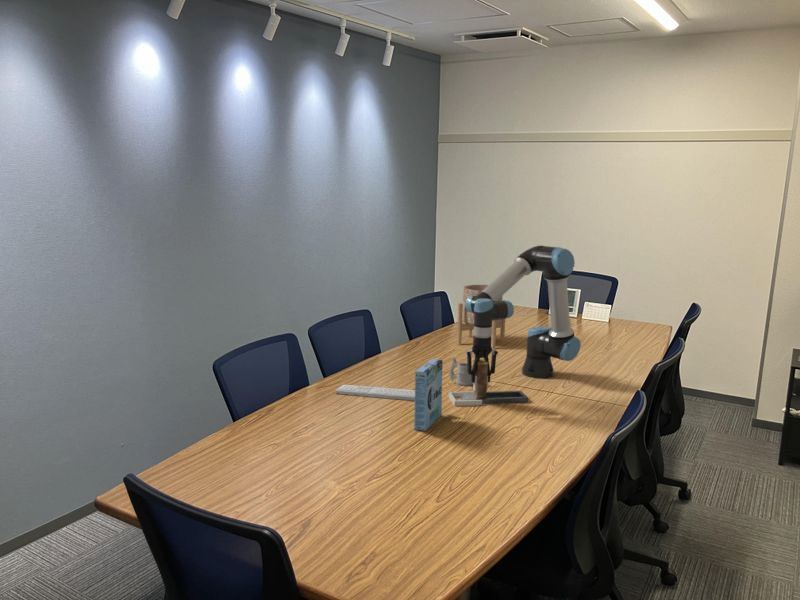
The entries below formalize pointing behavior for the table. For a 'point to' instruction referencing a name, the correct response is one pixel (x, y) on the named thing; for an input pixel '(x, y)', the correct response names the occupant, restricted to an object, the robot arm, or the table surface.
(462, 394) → the grey squarish block
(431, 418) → the gum box
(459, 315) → the planter
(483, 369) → the tan block
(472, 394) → the chip
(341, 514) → the table surface
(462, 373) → the mug
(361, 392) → the keyboard
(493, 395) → the dark grey open case
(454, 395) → the tray
